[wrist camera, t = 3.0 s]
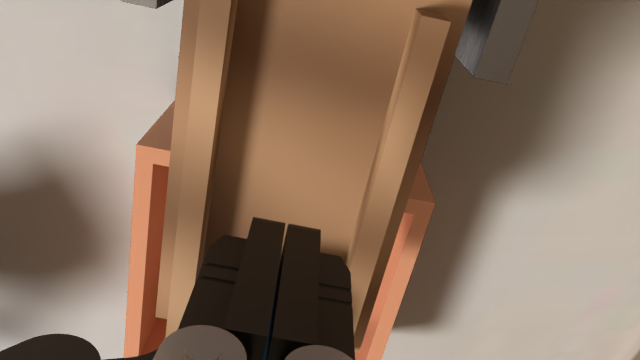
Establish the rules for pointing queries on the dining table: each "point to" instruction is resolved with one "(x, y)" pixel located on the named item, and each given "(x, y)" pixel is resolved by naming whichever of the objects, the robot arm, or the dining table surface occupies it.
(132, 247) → the cup
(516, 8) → the lever stand
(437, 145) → the dining table surface
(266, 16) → the lever
